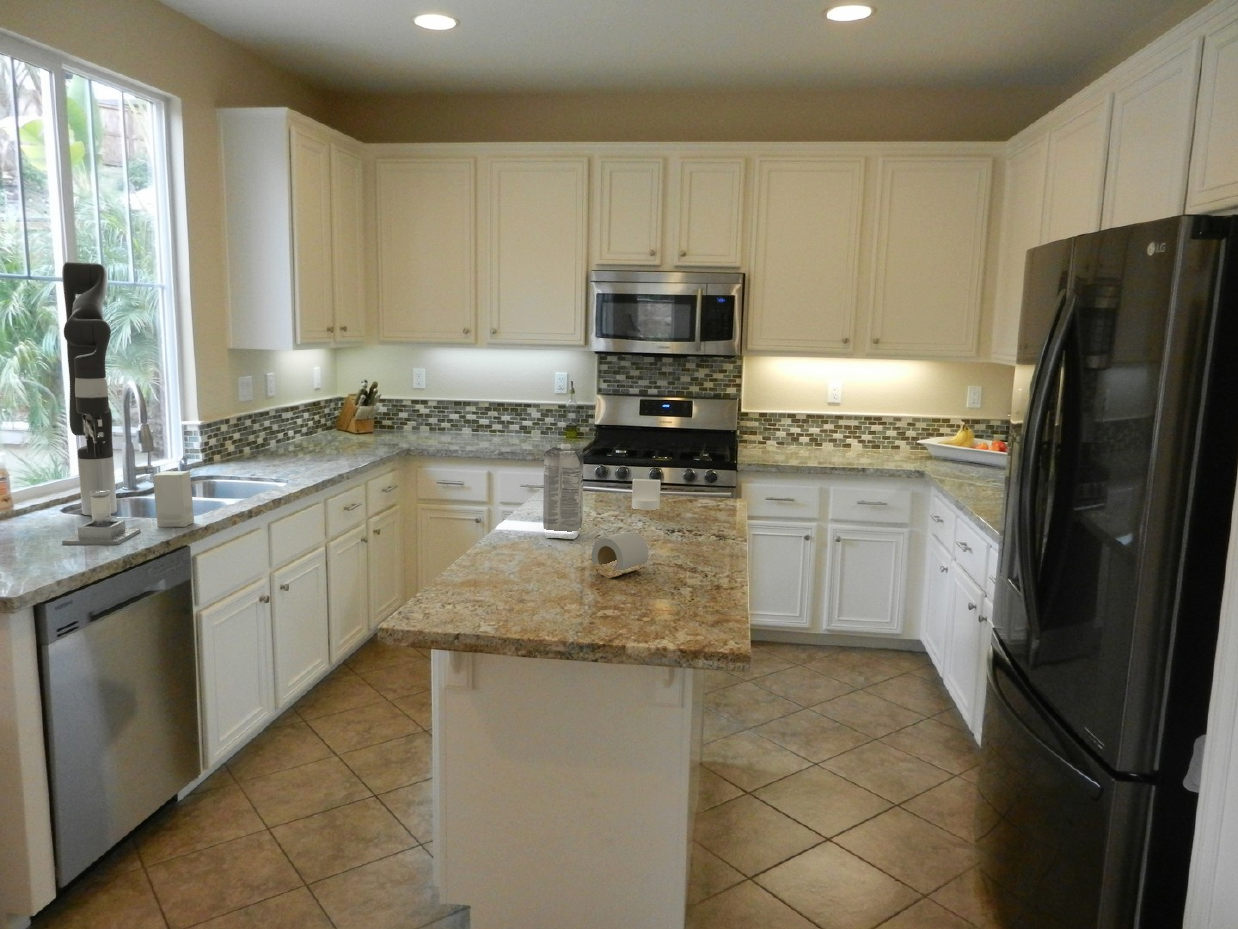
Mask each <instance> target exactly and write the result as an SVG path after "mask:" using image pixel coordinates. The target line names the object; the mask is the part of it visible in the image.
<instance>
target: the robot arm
mask: <svg viewBox="0 0 1238 929" xmlns="http://www.w3.org/2000/svg"><path fill="white" fill-rule="evenodd" d="M61 271H62V273H61V274H62V275H61V276H62V288H63V296H64V303H65V304H64V306H65V313H66V314H65V316H66V322H65V323H64V326H63V327H64V328H63V337H64V338H65V341H66V351H67V353H66V354H67V364H68V365H67V366H68V375H69V408H68V409H69V410H68V411H69V412H68V413H69V414H68V415H69V428H70V432H71V433H72V434H73V435H74V436H77V437H78V436H84V438H85V441H86V445H84V446H81V447H79V448H78V450H77V461H78V462H77V463H78V464H77V465H78V474H79V476H78V477H79V489H80V490H79V491H80V502H81V515H85V516H92V508H91V496H90V491H94V490H110V511H111V514H114V513H116V512H117V510H118V509H117V508H118V507H117V493H116V492H117V490H116V479H115V478H116V476H115V475H116V474H115V463H114V462H115V461H114V448H113V447H114V445H113V414H112V410H111V408H110V402H109V386H108V382H107V378H106V377H107V374H106V373H107V371H106V358H107V357H106V356H107V350H108V346H109V343H110V339H111V337H112V336H111V334H112V331H111V330H112V329H111V327H110V325H109V323H108V322H107V321H106V320H104V319H103V317H104V316H103V314H104V313H103V307H104V302H105V300H106V296H107V291H108V284H109V283H108V282H109V281H108V273H107V270H106V267H105V266H104V265H103V264H101V263H96V262H85V261H71V260H70V261H69V260H68V261H65V262H64V263H63V265H62V270H61ZM77 295H78V296H77Z"/></svg>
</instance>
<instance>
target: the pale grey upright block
mask: <svg viewBox="0 0 1238 929" xmlns="http://www.w3.org/2000/svg"><path fill="white" fill-rule="evenodd" d="M90 496H91V508H92V515H91V521H92V523H93V527H109V526H111V521H112V516H111V515H112V513H111V511H110V490H94V491H90Z"/></svg>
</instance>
